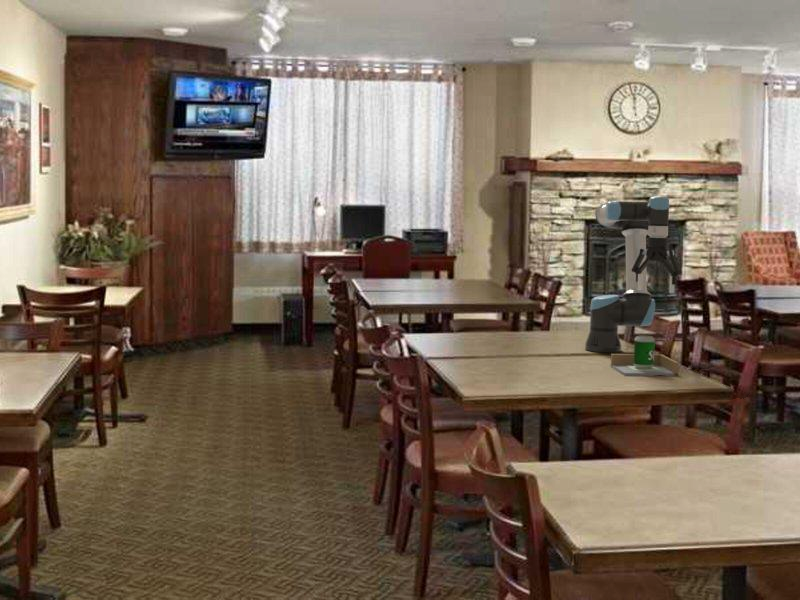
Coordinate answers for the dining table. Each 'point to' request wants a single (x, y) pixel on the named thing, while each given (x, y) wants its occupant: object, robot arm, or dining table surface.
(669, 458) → the dining table surface
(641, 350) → the soda can
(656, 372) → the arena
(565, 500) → the dining table surface
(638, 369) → the pad
